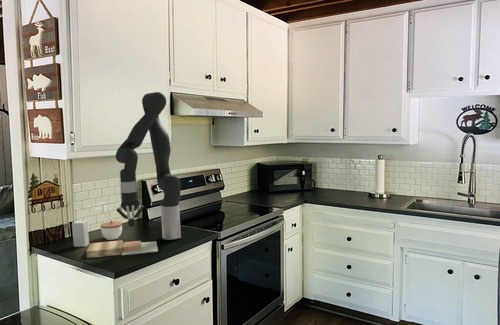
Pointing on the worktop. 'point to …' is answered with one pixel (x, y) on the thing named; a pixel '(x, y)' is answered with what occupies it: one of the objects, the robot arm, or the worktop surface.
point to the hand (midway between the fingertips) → (131, 226)
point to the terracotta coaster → (132, 246)
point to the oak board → (105, 249)
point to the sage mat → (144, 248)
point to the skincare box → (80, 234)
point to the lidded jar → (111, 230)
